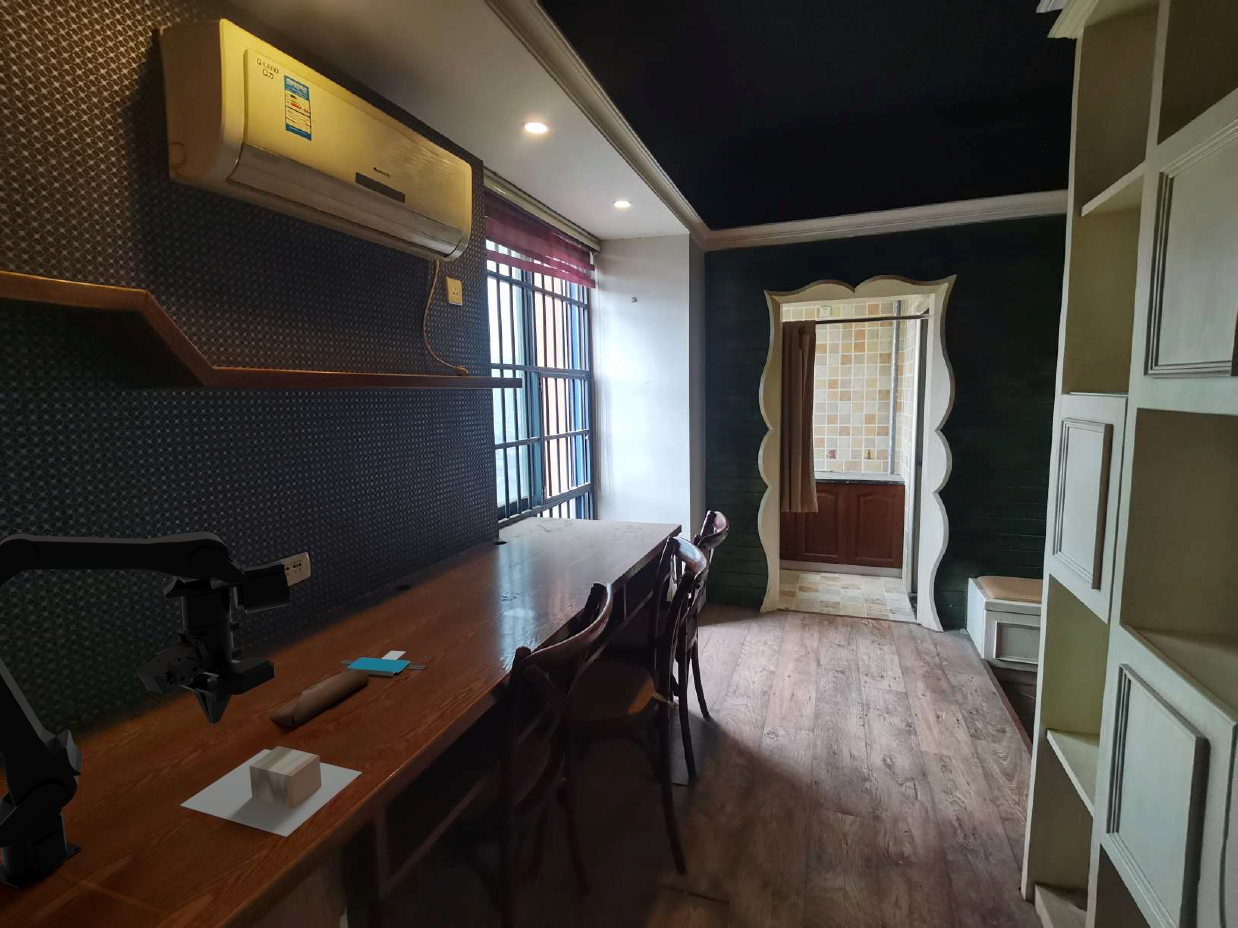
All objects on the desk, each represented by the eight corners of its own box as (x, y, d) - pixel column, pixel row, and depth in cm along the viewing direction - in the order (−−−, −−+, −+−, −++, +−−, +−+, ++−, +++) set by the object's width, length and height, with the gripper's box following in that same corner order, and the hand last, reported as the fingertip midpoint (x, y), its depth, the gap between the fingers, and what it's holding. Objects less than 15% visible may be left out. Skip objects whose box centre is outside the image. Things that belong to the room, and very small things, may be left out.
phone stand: (438, 656, 134) (438, 650, 134) (412, 682, 122) (411, 674, 122) (359, 651, 137) (359, 644, 137) (326, 675, 125) (325, 668, 125)
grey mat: (180, 807, 85) (179, 805, 85) (265, 751, 98) (265, 748, 98) (286, 839, 79) (286, 836, 79) (362, 774, 92) (362, 772, 92)
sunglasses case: (337, 676, 123) (348, 653, 122) (361, 697, 122) (373, 674, 120) (260, 722, 107) (271, 696, 105) (287, 747, 105) (299, 721, 103)
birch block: (249, 765, 86) (291, 776, 83) (278, 745, 90) (319, 755, 88) (252, 796, 86) (294, 808, 84) (281, 775, 91) (321, 785, 89)
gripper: (100, 631, 80) (110, 739, 82) (196, 652, 74) (205, 768, 75) (184, 605, 90) (191, 700, 92) (275, 621, 84) (280, 723, 86)
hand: (214, 722), depth 86 cm, fingers closed
